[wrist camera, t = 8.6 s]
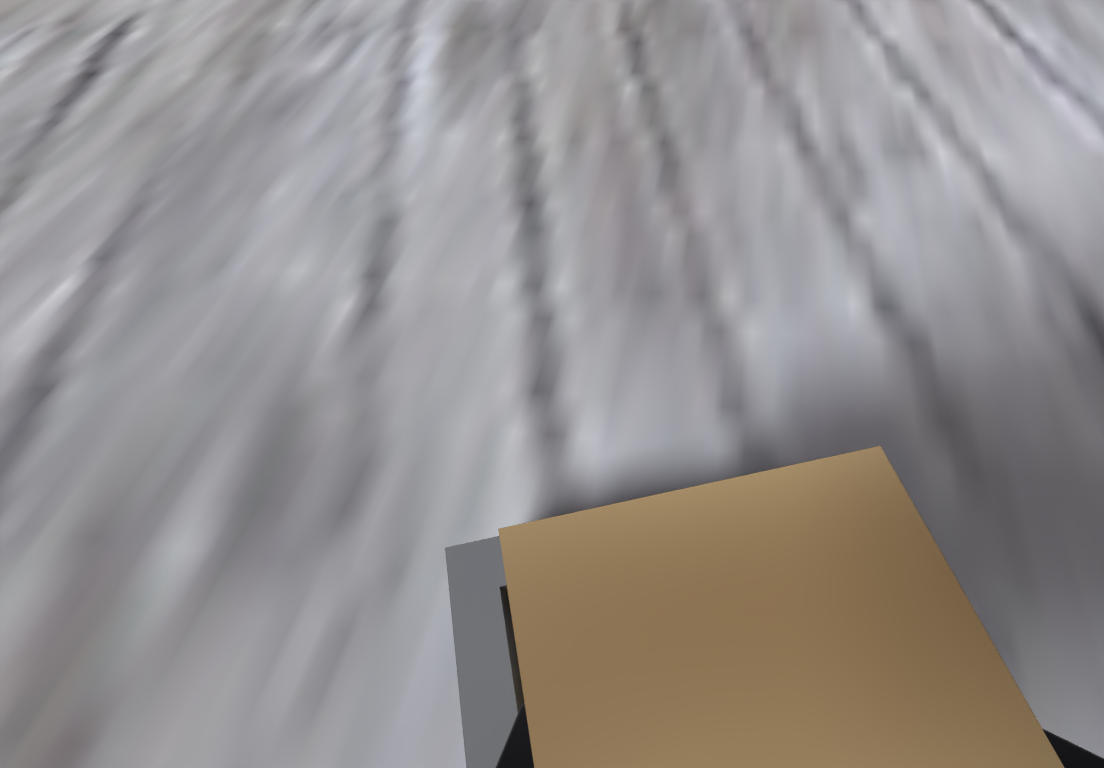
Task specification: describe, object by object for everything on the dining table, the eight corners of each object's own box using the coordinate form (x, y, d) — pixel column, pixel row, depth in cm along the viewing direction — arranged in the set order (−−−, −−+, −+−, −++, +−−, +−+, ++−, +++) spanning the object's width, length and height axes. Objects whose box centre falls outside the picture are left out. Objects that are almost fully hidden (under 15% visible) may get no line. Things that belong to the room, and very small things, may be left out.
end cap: (893, 940, 12) (1006, 1025, 9) (530, 1038, 12) (505, 1163, 9) (734, 524, 18) (768, 477, 14) (474, 581, 17) (444, 547, 14)
